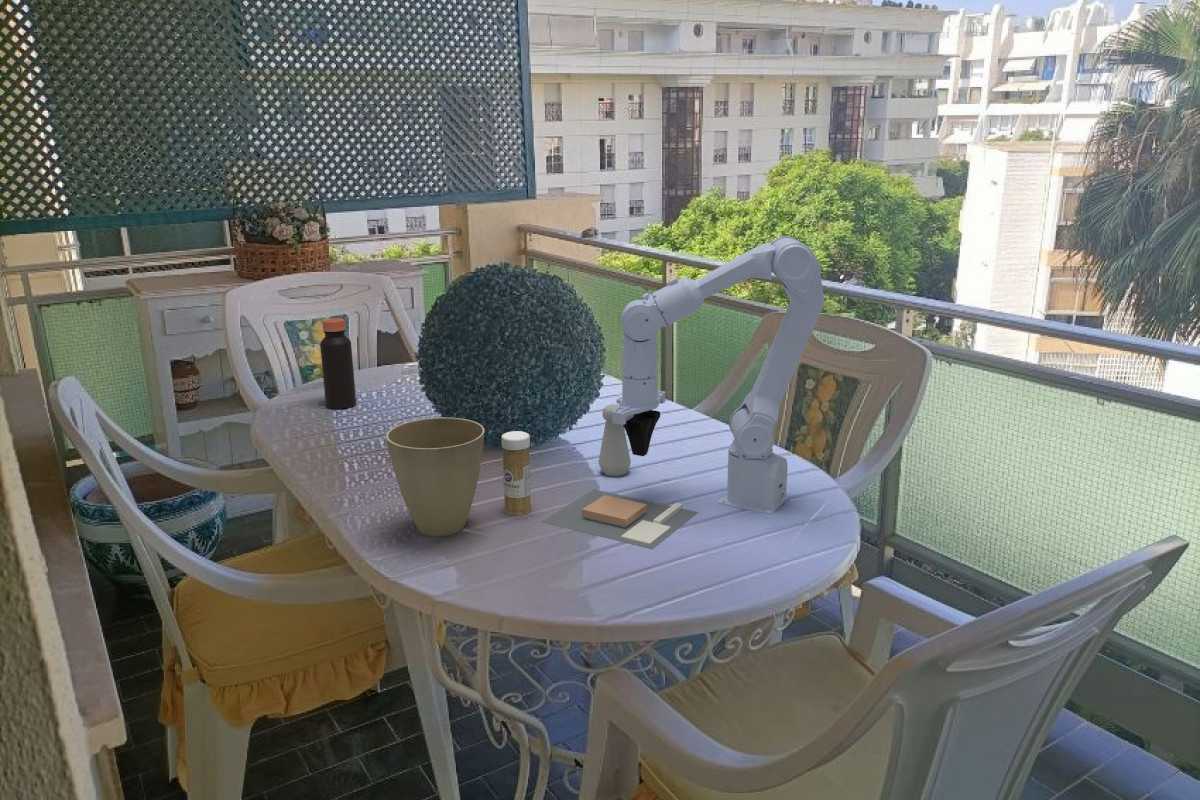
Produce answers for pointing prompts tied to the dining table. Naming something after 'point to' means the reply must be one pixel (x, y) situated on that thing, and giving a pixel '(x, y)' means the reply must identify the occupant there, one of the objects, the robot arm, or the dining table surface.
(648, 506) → the mat
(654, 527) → the turner
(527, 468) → the sprinkles bottle
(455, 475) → the plant pot
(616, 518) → the tile
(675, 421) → the dining table surface
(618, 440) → the salt shaker
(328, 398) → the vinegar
